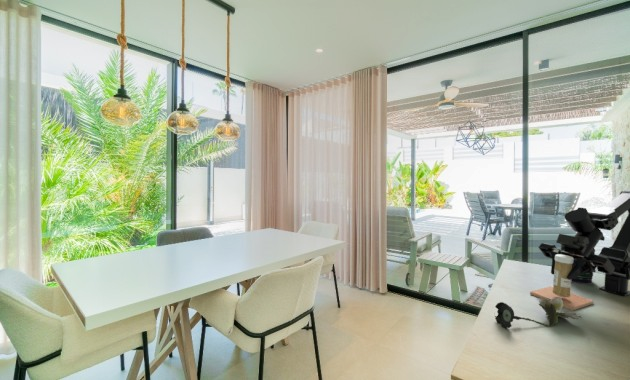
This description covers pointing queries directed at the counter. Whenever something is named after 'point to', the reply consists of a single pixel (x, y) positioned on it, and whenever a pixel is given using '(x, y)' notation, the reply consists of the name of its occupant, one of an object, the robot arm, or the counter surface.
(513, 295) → the counter surface
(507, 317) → the artificial flower
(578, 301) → the terracotta tile
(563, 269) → the sprinkles bottle
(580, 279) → the storage jar
